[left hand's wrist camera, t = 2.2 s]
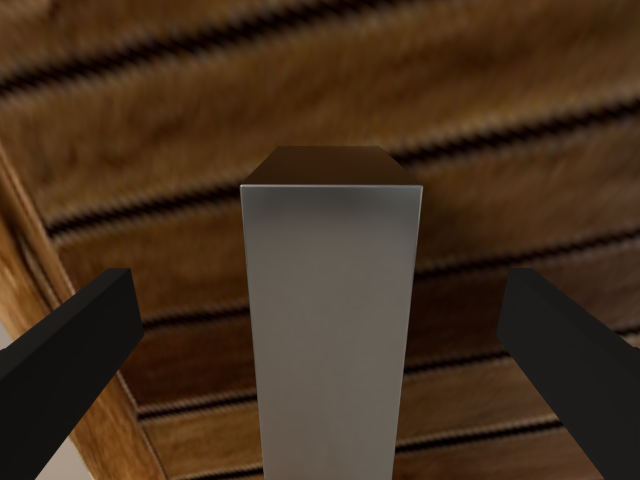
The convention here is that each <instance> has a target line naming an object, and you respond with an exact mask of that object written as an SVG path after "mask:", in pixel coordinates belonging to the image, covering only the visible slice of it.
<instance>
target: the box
mask: <svg viewBox="0 0 640 480" xmlns="http://www.w3.org/2000/svg"><path fill="white" fill-rule="evenodd" d="M422 193H423V185H422V184H421V183H420V182H419V181H418V180H416V179H415V178H414V177H413V176H412V175H411V174H410V173H408V172H407V171H406V170H405V169H404V168H403V167H402V166H401V165H399V164H398V163H397V162H396V161H395V160H394V159H393V158H391V157H390V156H389V155H388V154H387V153H386V152H385V151H383V150H382V149H381V148H380V147H325V146H279V147H277V148H276V149H275V150H274V151H273V152H272V153H271V154H270V155H269V156H268V157H267V158H266V159H265V160H264V161H263V162H262V163H261V164H260V165H259V166H258V167H257V168H256V169H255V170H254V171H253V172H252V173H251V174H250V175H249V176H248V177H247V178H246V179H245V180H244V181H243V182H242V183H241V184H240V195H241V207H242V219H243V231H244V243H245V254H246V266H247V278H248V290H249V302H250V314H251V326H252V338H253V350H254V362H255V374H256V386H257V398H258V410H259V422H260V434H261V445H262V457H263V469H264V480H392V472H393V463H394V454H395V444H396V435H397V426H398V416H399V407H400V398H401V388H402V379H403V370H404V361H405V351H406V342H407V333H408V323H409V314H410V305H411V296H412V286H413V277H414V268H415V258H416V249H417V240H418V231H419V221H420V212H421V203H422Z"/></svg>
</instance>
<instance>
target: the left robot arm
mask: <svg viewBox="0 0 640 480" xmlns="http://www.w3.org/2000/svg"><path fill="white" fill-rule="evenodd" d="M143 336H144V331H143V327H142V322H141V317H140V312H139V307H138V303H137V298H136V293H135V288H134V284H133V279H132V274H131V269H130V268H108V269H107V270H106V271H104V272H103V273H102V274H100V275H99V276H98V277H97V278H95V279H94V280H93V281H91V282H90V283H89V284H88V285H86V286H85V287H84V288H82V289H81V290H80V291H79V292H77V293H76V294H75V295H73V296H72V297H71V298H70V299H68V300H67V301H66V302H64V303H63V304H62V305H61V306H59V307H58V308H57V309H55V310H54V311H53V312H51V313H50V314H49V315H48V316H46V317H45V318H44V319H42V320H41V321H40V322H39V323H37V324H36V325H35V326H33V327H32V328H31V329H30V330H28V331H27V332H26V333H24V334H23V335H22V336H21V337H19V338H18V339H17V340H15V341H14V342H13V343H12V344H10V345H9V346H8V347H6V348H5V349H2V350H0V480H35V479H36V477H37V476H38V475H39V473H40V472H41V471H42V469H43V468H44V467H45V465H46V464H47V463H48V462H49V460H50V459H51V458H52V456H53V455H54V454H55V452H56V451H57V450H58V448H59V447H60V446H61V444H62V443H63V442H64V440H65V439H66V438H67V436H68V435H69V434H70V433H71V431H72V430H73V429H74V427H75V426H76V425H77V423H78V422H79V421H80V419H81V418H82V417H83V415H84V414H85V413H86V411H87V410H88V409H89V408H90V406H91V405H92V404H93V402H94V401H95V400H96V398H97V397H98V396H99V394H100V393H101V392H102V390H103V389H104V388H105V386H106V385H107V384H108V382H109V381H110V380H111V379H112V377H113V376H114V375H115V373H116V372H117V371H118V369H119V368H120V367H121V365H122V364H123V363H124V361H125V360H126V359H127V357H128V356H129V355H130V354H131V352H132V351H133V350H134V348H135V347H136V346H137V344H138V343H139V342H140V340H141V339H142V338H143ZM496 336H497V338H498V339H499V340H500V342H501V343H502V344H503V346H504V347H505V348H506V350H507V351H508V352H509V354H510V355H511V356H512V357H513V359H514V360H515V361H516V363H517V364H518V365H519V367H520V368H521V369H522V371H523V372H524V373H525V375H526V376H527V377H528V379H529V380H530V381H531V382H532V384H533V385H534V386H535V388H536V389H537V390H538V392H539V393H540V394H541V396H542V397H543V398H544V400H545V401H546V402H547V404H548V405H549V406H550V408H551V409H552V410H553V411H554V413H555V414H556V415H557V417H558V418H559V419H560V421H561V422H562V423H563V425H564V426H565V427H566V429H567V430H568V431H569V433H570V434H571V435H572V436H573V438H574V439H575V440H576V442H577V443H578V444H579V446H580V447H581V448H582V450H583V451H584V452H585V454H586V455H587V456H588V458H589V459H590V460H591V462H592V463H593V464H594V465H595V467H596V468H597V469H598V471H599V472H600V473H601V475H602V476H603V477H604V479H605V480H640V349H639V348H637V347H632V346H631V345H630V344H628V343H627V342H626V341H625V340H623V339H622V338H621V337H619V336H618V335H617V334H616V333H614V332H613V331H612V330H610V329H609V328H608V327H607V326H605V325H604V324H603V323H601V322H600V321H599V320H598V319H596V318H595V317H594V316H592V315H591V314H590V313H589V312H587V311H586V310H585V309H583V308H582V307H581V306H579V305H578V304H577V303H576V302H574V301H573V300H572V299H570V298H569V297H568V296H567V295H565V294H564V293H563V292H561V291H560V290H559V289H558V288H556V287H555V286H554V285H552V284H551V283H550V282H549V281H547V280H546V279H545V278H543V277H542V276H541V275H540V274H538V273H537V272H536V271H534V270H533V269H532V268H510V269H509V274H508V279H507V284H506V288H505V293H504V298H503V303H502V307H501V312H500V317H499V322H498V327H497V331H496Z"/></svg>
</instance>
